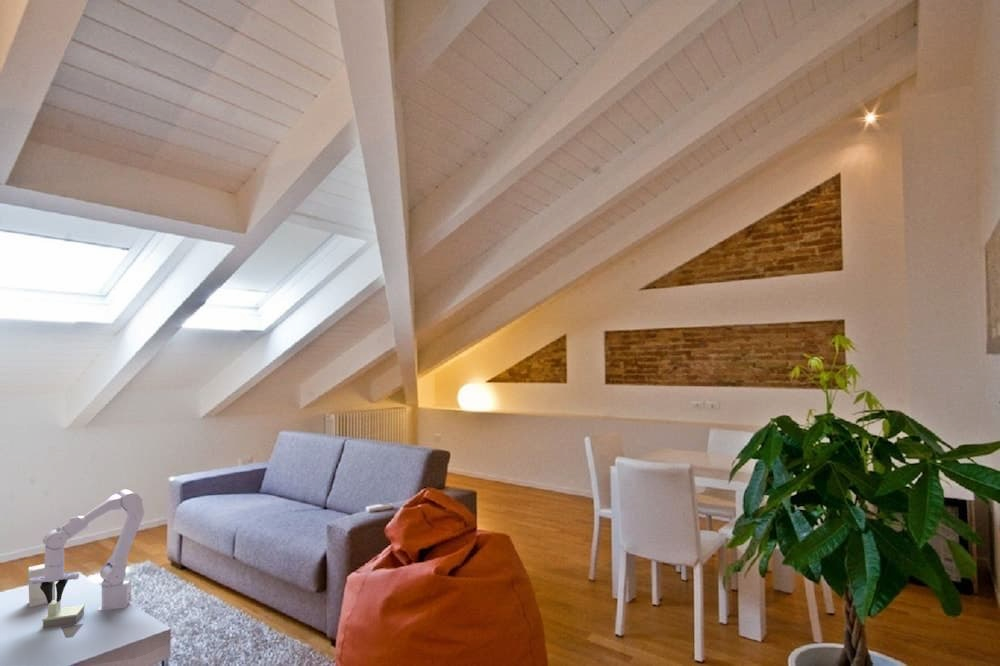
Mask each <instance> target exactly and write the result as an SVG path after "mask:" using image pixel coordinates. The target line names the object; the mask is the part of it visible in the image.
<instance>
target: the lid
mask: <svg viewBox="0 0 1000 666" xmlns="http://www.w3.org/2000/svg"><path fill="white" fill-rule="evenodd" d="M61 601H62V599H61V600H60V601H59V602H57V600H56V599H55V600H52V601H51V602H50V603H47V604H48V605H47V613H46V614H45V616H43V618H42V619H41V621H42V622H43V621H45V620H52V619H59V618H66V617H73V616H77V615H78V614H79V613H80V611H81V610H82V609H83V608H84V609H85V606H86V604H77V605H71V606H65V607H64V606H63V607H62V606H61V604H62V603H61Z"/></svg>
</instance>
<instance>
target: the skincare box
mask: <svg viewBox="0 0 1000 666" xmlns="http://www.w3.org/2000/svg"><path fill="white" fill-rule="evenodd" d="M27 570H28V571H27V574H28V575H27V579H28V601H29V602H28V603H29V605H28V606H29V608H32V607H39V606H42V605H46V604H49V603H48V602H47V598H46V596H45V594H44V592H43V591H42V590H41V589H40V586H41V583H40V584H33V585H29V580H30V579H31V578H36V577H41V576H45V563H42V564H37V565H33V566H29V567H28V569H27ZM52 600H56V581H55V582H53V588H52Z"/></svg>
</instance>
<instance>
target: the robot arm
mask: <svg viewBox="0 0 1000 666" xmlns="http://www.w3.org/2000/svg"><path fill="white" fill-rule="evenodd" d="M143 505H144V504H143V499H142V498H141V496H140V495H139V494H138V493H136V492H134V491H132V490H130V489H128V488H127V489H122V490H119V491H118V492H117V493H114V494H112V495H111V496H110V497H109V498H107V499H106V500H104V501H103V502H101V503H100V504H98V505H97V506H95V507H94V508H92V509H91V510H90V511H89V512H86V513H85V514H84V515H76V516H72V517H70V518H69V521H67V522H65V523H63V524H62V525H60V526H56V527H55V529H52V530H50V531H49V532H46V534H45V535H44V536H43V539H42V543H43V544H44V545H45V546H44V548H45V549H44V564H45V576H41V577H36V578H31V579H30V580H29V583H28V586H29V585H33V584H40V583H41V586H40V589H41V590H42V591H43V592H44V594H45V596H46V598H47V602H48V603H47V604H49V603H50V602H51V601H52V588H53V582H55V592H56V597H55V600H57V602H59V601H60V600H61V601H62V595H63V592H64V591H65V590H64V589H65V587H66V585H67V583H68V581H70V580H74V581H75V580H78V579H79V578H80V572H79V571H78V572H65V545H66V543H67V541H68V540H70V539H72V538H73V537H75V536H76V535H78V534H79V533H81V532H82V531H84V530H85V529H88V526H89V523H91V522H92V521H94V520H96V519H98V518H99V517H101V516H103V515H105V514H106V513H108V512H110V511H112V510H116V511H117V510H122V509H123V510H124V512H125V514H127V517H126V519H125V522H124V525H123V526H122V530H121V532H120V534H119V538H118V539H117V541H116V543H115V544H116V545H115V546H114V550H113V552H112V554H111V556H110V557H109V558H108V559H107V561H106V563H105V565H103V567H102V568H101V570H100V573H99V575H100V577H101V578H102V579H103V580H102V583H101V605H100V607H99V608H98V609H97V611H98V612H102V611H107V610H115V609H116V610H117V609H122V608H123V609H125V608H127V607H128V605H129V604H130V602H131V601H132V582H131V580H125V579H126V575H127V573H126V569H127V565H128V563H127V562H128V561H127V559H128V556H129V555H130V554H129V553H130V551H131V548H132V545H133V543H134V540H135V538H136V535H137V532H138V530H139V528H140V525H141V523H142V520H143V517H144V516H145V510H144V506H143ZM128 603H129V604H128Z"/></svg>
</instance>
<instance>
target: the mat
mask: <svg viewBox="0 0 1000 666" xmlns="http://www.w3.org/2000/svg"><path fill="white" fill-rule="evenodd" d="M83 625H84V623H79V624H77V623H76V624H70V625H63V626H61V627H60V628H61V631H62V633H63V635H64V637H65V639H69V638H73V637H75V635H76V634H77V633H78V631H79V630H80V629H81V627H83Z"/></svg>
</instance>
